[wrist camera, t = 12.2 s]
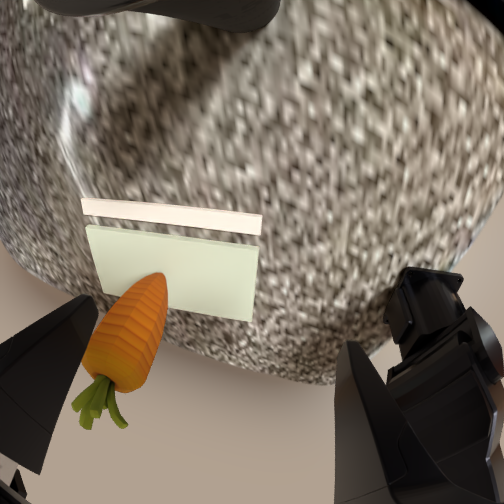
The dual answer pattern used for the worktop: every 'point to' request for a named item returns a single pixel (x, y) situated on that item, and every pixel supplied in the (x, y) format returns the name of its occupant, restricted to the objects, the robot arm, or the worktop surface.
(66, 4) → the drinking cup
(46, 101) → the worktop surface
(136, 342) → the carrot
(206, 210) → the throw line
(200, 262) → the mat
